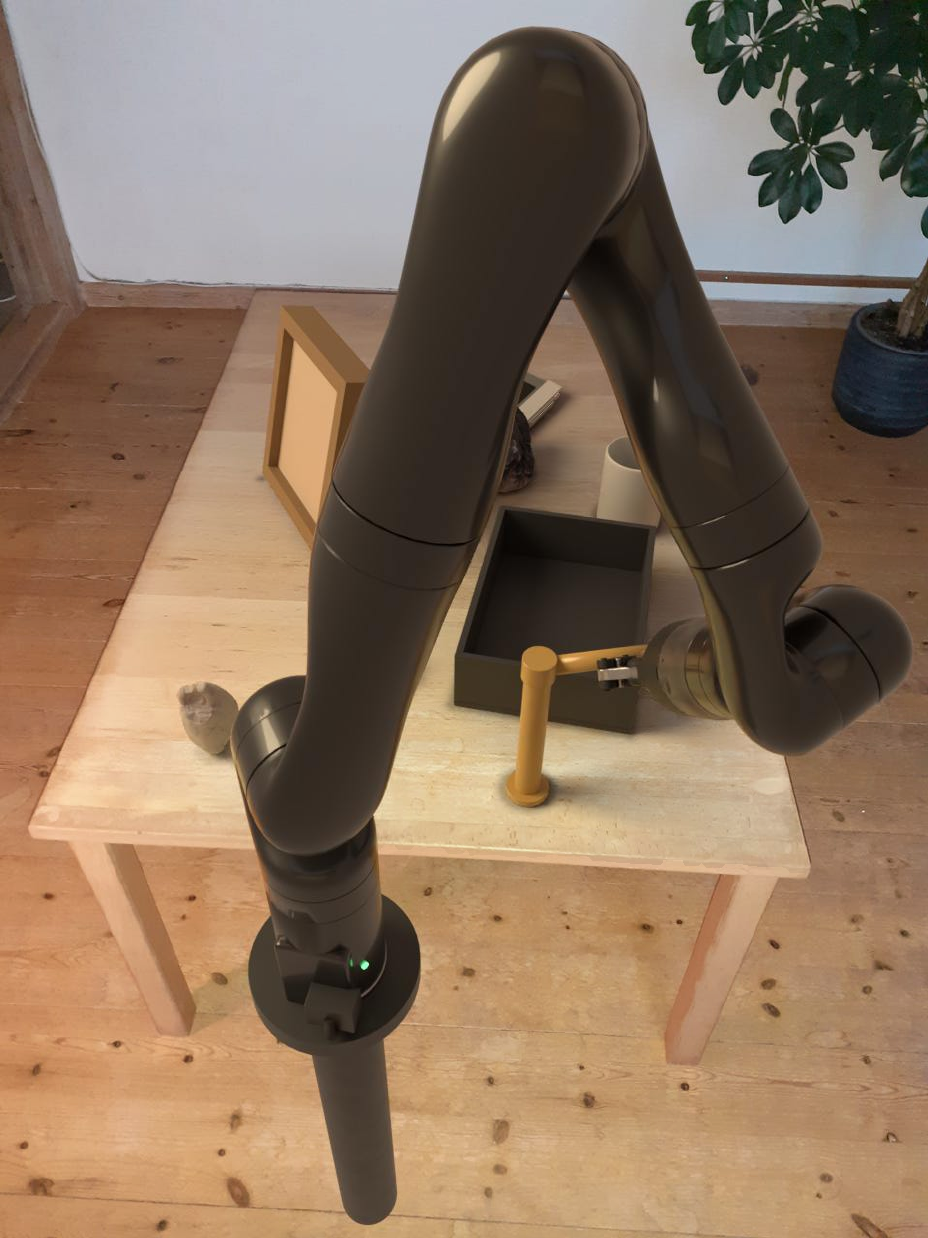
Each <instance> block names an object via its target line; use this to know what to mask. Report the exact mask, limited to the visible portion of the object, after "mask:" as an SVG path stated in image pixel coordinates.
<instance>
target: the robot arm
mask: <svg viewBox="0 0 928 1238" xmlns="http://www.w3.org/2000/svg"><path fill="white" fill-rule="evenodd" d="M647 109H648V108H647V103H646V101H645V97H644V93H643V91H642V88H641V85H640V83H639V81H638V79H637V77H636V76H635V74H634V72H633V71H632V69H631V67H630V66H629V65H628V63H626V61H625V60H624V59H623V58H622V57H621V56H620V54H618V53H617V52H616V51H615V50H614V49H613V48H611V47H610V46H609V45H607V44H605V43H604V42H602V41H601V40H600V39H597V38H594V37H592V36H590V35H589V34H585V33H582V32H579V31H574V30H568V29H566V28H565V29H564V28H560V27H552V26H534V25H533V26H523V27H519V28H514V29H511V30H508V31H505V32H504V33H501V34H499V35H497V36H494V37H492V38H491V39H489V40H488V41H487V42H485V43H484V44H482V45H481V46H479V47H478V48H477V49H476V50H474V51H473V52H472V53H471V54H470V55H469V56H468V57H467V59H465V61H464V62H463V63H462V64H461V65H460V66H459V67H458V69H457V70H456V71H455V73H454V74H453V76H452V78H451V80H450V81H449V84H448V85H447V86H446V89H445V90H444V92H443V94H442V96H441V99H440V101H439V104H438V106H437V109H436V112H435V116H434V118H433V122H432V126H431V130H430V134H429V135H430V136H429V139H428V143H427V148H426V154H425V159H424V162H423V163H424V164H423V168H422V174H421V178H420V183H419V187H418V193H417V198H416V203H415V208H414V213H413V218H412V222H411V228H410V233H409V237H408V240H407V241H408V242H407V247H406V251H405V256H404V261H403V265H402V270H401V276H400V279H399V283H398V288H397V291H396V294H395V299H394V303H393V306H392V309H391V313H390V317H389V320H388V324H387V326H386V328H385V332H384V334H383V337H382V340H381V342H380V344H379V346H378V349H377V352H376V355H375V356H374V359H373V362H372V364H371V366H370V368H369V370H370V371H369V374H368V376H367V379H366V381H365V384H364V386H363V389H362V392H361V395H360V397H359V400H358V403H357V406H356V409H355V411H354V414H353V417H352V420H351V423H350V426H349V429H348V432H347V434H346V437H345V440H344V443H343V445H342V448H341V451H340V453H339V456H338V459H337V461H336V464H335V467H334V470H333V473H332V477H331V480H330V483H329V486H328V489H327V492H326V496H325V499H324V502H323V505H322V508H321V512H320V515H319V518H318V521H317V525H316V528H315V533H314V537H313V542H312V548H311V549H310V558H309V567H308V568H309V570H308V578H307V580H308V583H307V601H306V602H307V603H306V604H307V606H306V607H307V608H306V672H305V674H293V675H289V676H285V677H281V678H278V679H275V680H272V681H270V682H268V683H267V684H264V685H263V686H261V687H260V688H259V689H258V690H256V691H255V692H253V693H252V694H251V695H250V696H249V697H248V698H247V699H246V701H244V703H243V704H242V705H241V707H239V708H240V709H239V712H238V713H237V715H236V717H235V720H234V722H233V726H232V729H231V735H230V738H229V742H230V743H229V744H230V750H231V751H230V752H231V756H232V760H233V764H234V770H235V773H236V778H237V782H238V786H239V789H240V794H241V798H242V802H243V806H244V811H245V816H246V820H247V824H248V827H249V832H250V835H251V838H252V843H253V846H254V849H255V850H254V851H255V853H256V857H257V860H258V863H259V868H260V873H261V877H262V881H263V886H264V890H265V895H266V899H267V904H268V909H269V913H270V916H271V918H272V923H273V928H274V932H275V937H276V941H275V944H274V950H275V954H276V958H277V963H278V967H279V972H280V976H281V980H282V985H283V989H284V993H285V998H286V1000H287V1001H290V1002H294V1003H299V1004H304V1009H305V1014H306V1019H307V1023H310V1024H314V1025H319V1026H323V1027H324V1034H325V1037H326V1039H327V1040H329V1041H335V1040H336V1039H337V1038H338V1037H339V1035H340V1033H341V1031H347V1032H351V1033H354V1032H355V1029H356V1026H357V1022H358V1019H359V1015H360V1012H361V1009H362V1000H363V999H364V998H366V997H367V996H368V995H369V994H370V993H371V992H372V991H373V990H374V989H375V988H376V987H377V985H378V984H379V982H380V981H381V979H382V977H383V975H384V972H385V969H386V964H387V947H386V941H385V935H384V923H383V911H382V898H381V894H382V886H381V876H380V875H381V873H380V860H379V859H380V857H379V844H378V842H379V841H378V833H377V824H376V819H375V816H374V815H375V813H376V812H377V811H378V809H379V807H380V805H381V803H382V801H383V800H384V799H383V798H384V796H385V793H386V791H387V788H388V785H389V782H390V780H391V779H390V778H391V776H392V771H393V769H394V765H395V761H396V757H397V753H398V751H399V746H400V742H401V739H402V735H403V732H404V729H405V724H406V721H407V718H408V714H409V712H410V709H411V706H412V703H413V700H414V697H415V696H416V695H415V694H416V693H417V690H418V688H419V685H420V682H421V679H422V677H423V675H424V672H425V670H426V667H427V665H428V663H429V660H430V659H431V656H432V652H433V650H434V647H435V645H436V642H437V640H438V638H439V635H440V633H441V629H442V628H443V625H444V622H445V620H446V617H447V615H448V613H449V611H450V609H451V606H452V603H453V601H454V600H455V597H456V596H457V593H458V591H459V589H460V587H461V586H462V583H463V582H464V579H465V577H466V574H467V572H468V570H469V568H470V566H471V564H472V561H473V558H474V556H475V554H476V552H477V550H478V547H479V544H480V542H481V540H482V538H483V535H484V533H485V530H486V528H487V526H488V522H489V521H490V517H491V514H492V512H493V508H494V505H495V503H496V499H497V497H498V493H499V492H498V490H499V487H500V483H501V480H502V476H503V472H504V468H505V464H506V459H507V455H508V451H509V446H510V441H511V435H512V429H513V424H514V419H515V414H516V409H517V404H518V400H519V396H520V392H521V389H522V385H523V382H524V379H525V376H526V374H527V372H528V371H529V368H530V366H531V363H532V360H533V358H534V356H535V353H536V352H537V349H538V347H539V344H540V342H541V341H542V338H543V336H544V334H545V332H546V331H547V328H548V326H549V324H550V322H551V320H552V319H553V317H554V315H555V312H556V310H557V309H558V306H559V305H560V303H561V301H562V299H563V297H564V294H565V293H566V292H567V294H568V296H569V297H570V299H571V301H572V302H573V304H574V306H575V307H576V310H577V312H578V313H579V315H580V317H581V318H582V321H583V323H584V324H585V326H586V329H587V331H588V332H589V334H590V337H591V339H592V341H593V344H594V346H595V348H596V351H597V352H598V355H599V357H600V359H601V361H602V364H603V367H604V369H605V372H606V375H607V378H608V380H609V383H610V386H611V388H612V392H613V394H614V398H615V399H616V403H617V405H618V409H619V412H620V414H621V419H622V422H623V424H624V427H625V430H626V435H627V436H628V437H629V440H630V443H631V446H632V449H633V452H634V454H635V457H636V460H637V463H638V465H639V468H640V470H641V473H642V475H643V478H644V480H645V482H646V484H647V487H648V489H649V491H650V493H651V496H652V498H653V500H654V502H655V504H656V506H657V508H658V510H659V512H660V514H661V515H660V517H661V518H662V520H663V521H664V523H665V525H666V527H667V529H668V531H669V532H670V534H671V536H672V538H673V541H674V543H676V545H677V547H678V549H679V551H680V553H681V555H682V557H683V558H684V560H685V562H686V564H687V566H688V568H689V570H690V571H691V574H692V576H693V577H694V579H695V582H696V585H697V588H698V591H699V594H700V598H701V603H702V607H703V610H704V615H705V616H702V617H694V618H693V617H692V618H685V619H680V620H675V621H673V622H670V623H667V624H666V625H665V626H663V627H662V628H661V629H659V630H658V631H657V632H656V633H655V634H654V635H653V637H651V639H650V641H649V642H648V643H647V644H648V646H647V648H646V649H641V653H640V654H641V655H634V656H628V654H627V655H623V657H616V658H609V659H607V658H601V660H597V669H598V670H597V671H598V681H599V688H600V690H604V691H610V689H615V688H622V687H624V686H632V685H633V686H640V687H644V688H645V690H647V692H648V693H649V694H650V696H651V697H652V699H653V700H654V702H656V703H657V704H658V705H659V706H660V707H662V708H663V709H664V710H666V711H668V712H670V713H672V714H675V715H677V716H683V717H688V718H696V719H702V720H710V721H716V722H717V721H718V722H719V721H721V722H723V721H725V722H726V721H733V720H734V722H735V723H736V725H737V726H738V727H739V728H740V730H741V731H742V732H743V733H744V735H746V736H747V738H748V739H750V740H751V741H752V742H753V743H755V745H757V746H759V748H762V749H763V750H765V751H768V752H769V753H772V754H774V755H778V756H782V757H792V758H793V757H796V758H797V757H801V756H806V755H808V754H809V753H812V752H814V751H816V750H817V749H819V748H821V747H823V746H824V745H825V744H826V743H828V742H829V741H830V740H832V739H833V738H834V737H836V736H837V735H838V734H839V733H841V732H842V731H843V730H845V729H846V728H848V727H849V726H851V724H853V723H854V722H855V721H857V720H858V719H859V718H861V717H862V716H864V715H865V714H866V713H868V711H870V710H871V709H873V708H874V707H875V706H876V705H879V704H880V703H881V702H883V701H884V700H885V699H886V698H888V697H889V696H891V695H892V694H893V693H894V692H895V691H897V689H898V688H899V687H901V685H902V684H903V683H904V682H905V680H906V679H907V678H908V675H909V674H910V671H911V669H912V666H913V662H914V655H915V654H914V650H915V649H914V641H913V636H912V634H911V631H910V629H909V626H908V623H906V620H905V619H904V618H903V616H902V615H901V613H900V612H899V611H898V610H897V608H895V607H894V606H893V605H892V604H891V603H890V602H889V601H887V599H885V598H883V597H881V596H880V595H879V594H876V593H874V592H873V591H870V590H869V589H865V588H862V587H859V586H856V585H855V586H854V585H849V584H842V583H835V584H833V583H832V584H825V585H820V586H816V587H814V588H810V589H808V590H805V591H803V592H801V593H798V594H796V593H797V592H798V591H799V590H800V588H801V587H802V586H803V584H804V583H805V582H806V581H807V580H808V578H809V577H810V576H811V574H812V573H813V571H814V570H815V569H816V568H817V566H818V565H819V563H820V561H821V559H822V557H823V555H824V547H825V544H824V543H825V542H824V536H823V533H822V530H821V527H820V524H819V523H818V520H817V518H816V515H815V514H814V512H813V510H812V508H811V506H810V504H809V502H808V499H807V497H806V494H805V493H804V491H803V489H802V487H801V485H800V483H799V480H798V478H797V477H796V474H795V472H794V469H793V468H792V466H791V464H790V462H789V460H788V457H787V455H786V454H785V452H784V449H783V448H782V446H781V443H780V442H779V439H778V438H777V436H776V434H775V432H774V430H773V428H772V426H771V424H770V422H769V420H768V418H767V415H766V414H765V412H764V410H763V408H762V406H761V404H760V402H759V400H758V398H757V397H756V394H755V392H754V391H753V389H752V387H751V385H750V383H749V381H748V379H747V378H746V376H745V373H744V371H743V370H742V368H741V365H740V364H739V361H738V360H737V357H736V356H735V355H734V352H733V350H732V348H731V347H730V344H729V342H728V340H727V338H726V336H725V334H724V332H723V331H722V328H721V326H720V324H719V322H718V320H717V318H716V315H715V313H714V311H713V309H712V307H711V305H710V303H709V299H708V298H707V295H706V293H705V291H704V288H703V286H702V283H701V281H700V279H699V276H698V274H697V272H696V269H695V266H694V264H693V262H692V259H691V256H690V254H689V251H688V249H687V246H686V244H685V240H684V238H683V235H682V232H681V229H680V226H679V224H678V221H677V218H676V216H675V215H676V214H675V212H674V209H673V208H674V207H673V206H672V202H671V199H670V196H669V191H668V188H667V186H666V182H665V178H664V175H663V171H662V167H661V163H660V161H659V157H658V153H657V149H656V146H655V142H654V138H653V135H652V131H651V127H650V123H649V117H648V110H647Z"/></svg>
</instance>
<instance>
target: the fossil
mask: <svg viewBox="0 0 928 1238" xmlns="http://www.w3.org/2000/svg"><path fill="white" fill-rule="evenodd" d="M176 698H177V701H178V702H179V716H180V719H181V722H182V726H183V729H184V732H185V734H186V736H187V738H188V739H189V740H190V741H191V742H192V743H193V744H194V745H195V746H197V747H199V748H201V750H202V751H204V752H205V753H208V754H210V755H219V754H220V753H222V752H223V751H224V749H225V747H226V745H227V744H228V742H229V741H230V736H231V729H232V726H233V722H234V720H235V717H236V715H237V713H238V712H239V710H240V709H239V708H240V707H239V705H238V702H237V699H236V698H234V696H233V695H232V694H231V693H230V692H228V691H227V689H224V688H223V687H222V686H219V685H218V684H215V683H212V682H206V681H199V682H195V683H191V684H186V685H182V686H181V687H180V688H178V690H177V692H176Z"/></svg>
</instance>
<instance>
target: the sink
mask: <svg viewBox="0 0 928 1238" xmlns="http://www.w3.org/2000/svg"><path fill="white" fill-rule="evenodd" d="M493 524H494V525H493V528H492V531H491V534H490V538H489V540H488V544H487V546H486V551H485V554H484V557H483V561H482V564H481V567H480V569H479V574H478V577H477V581H476V583H475V587H474V590H473V594H472V597H471V600H470V603H469V607H468V610H467V613H466V616H465V621H464V623H463V626H462V630H461V634H460V636H459V640H458V642H457V646H456V650H455V653H454V658H453V659H454V660H453V661H454V662H453V663H454V669H453V670H454V671H453V673H454V674H453V706H457V707H462V708H469V709H475V710H481V711H487V712H493V713H498V714H505V715H509V716H517V717H520V715H521V703H522V691H523V681H522V679H521V663H522V655H523V653H524V652H525V651H526V650H527V649H528V648H531V647H534V646H543V647H547V648H549V649H551V650H552V651H554V653H555V654H556V655H563V654H571V653H579V652H587V651H595V650H603V649H611V648H619V647H627V646H635V645H643V644H645V640H646V634H647V633H646V631H647V622H648V613H649V603H650V592H651V582H652V576H653V575H652V574H653V573H652V572H653V565H654V555H655V546H656V535H657V534H656V533H657V529H656V526H652V525H644V524H637V523H630V522H622V521H615V520H608V519H600V518H597V517H592V516H587V515H586V516H584V515H577V514H571V513H563V512H555V511H549V510H541V509H534V508H526V507H520V506H512V505H506V504H505V505H504V504H500V505H499V508H498V511H497V514H496V518H495V521H494V523H493ZM640 688H641V686H633V685H632V686H624V687H622V688H615V689H610V691H604V690H600V688H599V681H598V671H597V670H594V671H587V672H579V673H571V674H563V675H556V679H555V681H554V683H553V684H552V685H551V694H550V702H549V711H548V720H547V722H553V723H559V724H565V725H572V726H576V727H577V726H578V727H584V728H588V729H589V728H590V729H595V730H602V731H607V732H613V733H618V734H619V733H620V734H625V735H631V731H632V726H633V722H634V718H635V717H634V716H635V713H636V707H637V702H638V698H639V694H640V693H639V692H640Z"/></svg>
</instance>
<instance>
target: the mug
mask: <svg viewBox="0 0 928 1238" xmlns="http://www.w3.org/2000/svg"><path fill="white" fill-rule="evenodd" d="M597 504H598V505H597V509H596V518H600V519H608V520H615V521H622V522H630V523H637V524H644V525H652V526H656V530H657V528H658V526H659V524H660V520H661V514H660V512H659V510H658V508H657V506H656V504H655V502H654V500H653V498H652V496H651V493H650V491H649V489H648V487H647V484H646V482H645V480H644V478H643V475H642V473H641V470H640V468H639V465H638V463H637V460H636V457H635V454H634V452H633V449H632V446H631V443H630V440H629V437H628V435H626V436H621V437H618V438H615V439H613V440H612V441H610V443H609V444H608V445H607V446H606V449H605V454H604V460H603V469H602V476H601V483H600V491H599V498H598V503H597Z"/></svg>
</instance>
